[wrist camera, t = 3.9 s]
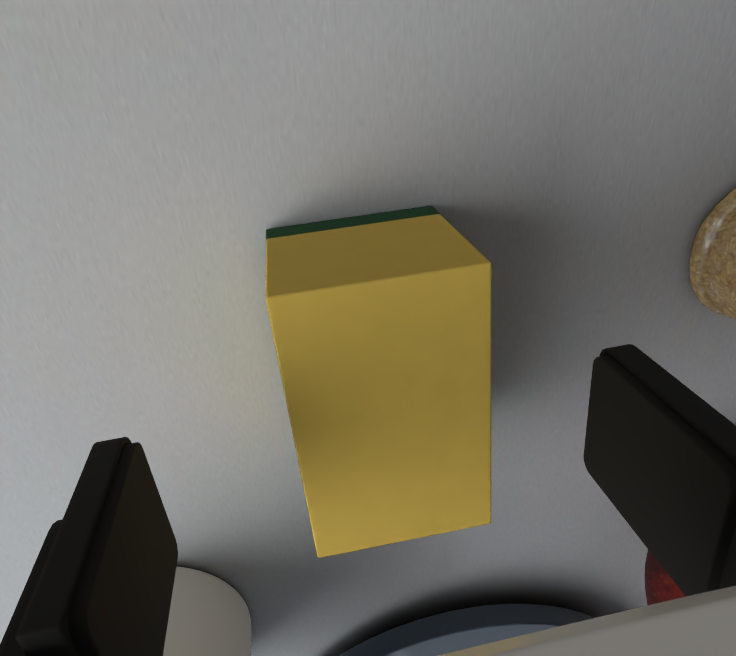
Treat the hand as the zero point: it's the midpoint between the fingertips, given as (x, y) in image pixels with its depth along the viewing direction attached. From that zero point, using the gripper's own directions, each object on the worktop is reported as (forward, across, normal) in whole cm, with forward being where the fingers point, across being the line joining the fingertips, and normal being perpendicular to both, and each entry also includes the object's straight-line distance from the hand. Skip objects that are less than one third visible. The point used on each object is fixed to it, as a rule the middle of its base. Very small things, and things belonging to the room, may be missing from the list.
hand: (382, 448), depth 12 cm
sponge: (+5, 0, 0) cm, 5 cm away
